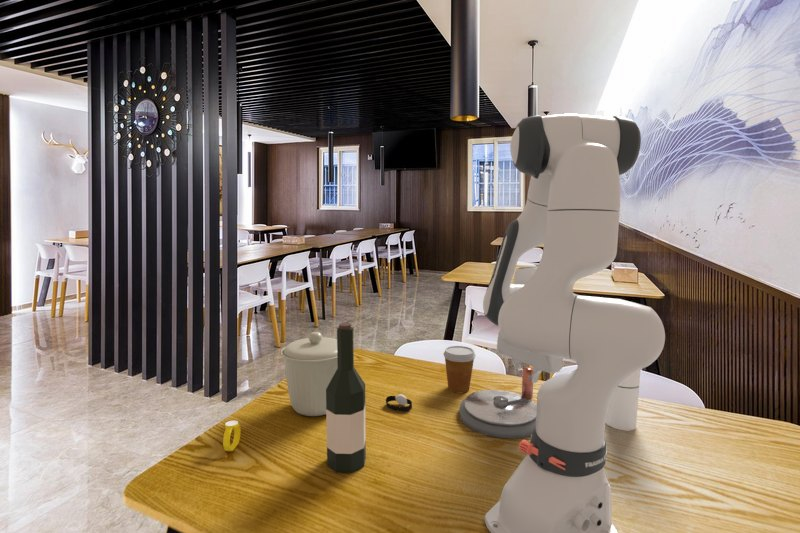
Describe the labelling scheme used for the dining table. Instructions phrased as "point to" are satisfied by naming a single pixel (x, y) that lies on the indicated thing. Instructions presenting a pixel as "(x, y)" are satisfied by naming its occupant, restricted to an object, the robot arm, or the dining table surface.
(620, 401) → the cylindrical container
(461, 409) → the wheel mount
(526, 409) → the handwheel
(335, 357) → the canister
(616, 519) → the dining table surface
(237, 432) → the watch
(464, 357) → the disposable coffee cup
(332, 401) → the wine bottle
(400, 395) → the watch
